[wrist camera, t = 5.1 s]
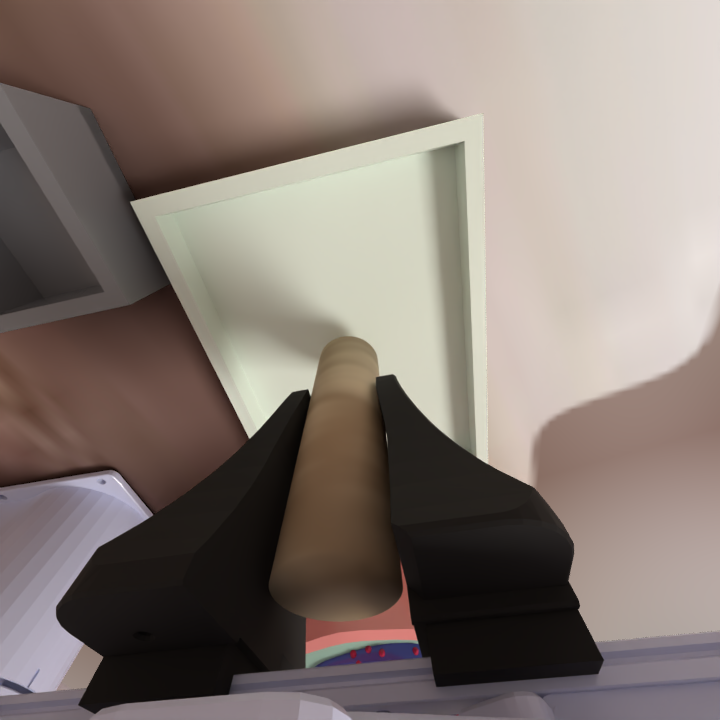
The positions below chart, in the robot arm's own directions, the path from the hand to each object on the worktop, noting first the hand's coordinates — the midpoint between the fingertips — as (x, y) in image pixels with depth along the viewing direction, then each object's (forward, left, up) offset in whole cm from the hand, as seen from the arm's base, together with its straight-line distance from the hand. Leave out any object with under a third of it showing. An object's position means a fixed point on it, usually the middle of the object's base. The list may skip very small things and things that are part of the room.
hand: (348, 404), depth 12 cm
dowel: (0, 0, -3) cm, 3 cm away
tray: (0, 0, -5) cm, 5 cm away
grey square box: (-10, +8, -5) cm, 14 cm away
